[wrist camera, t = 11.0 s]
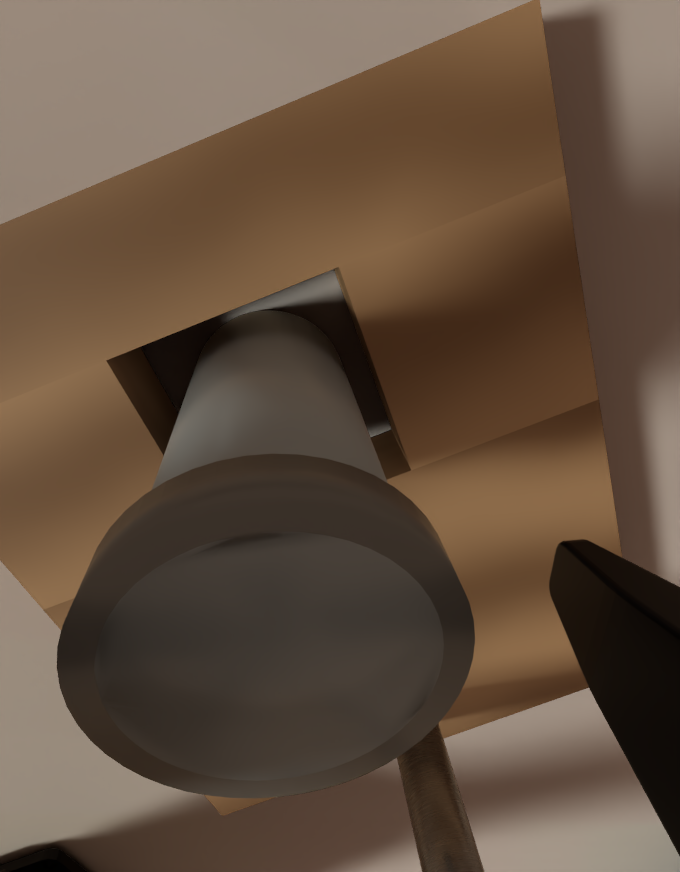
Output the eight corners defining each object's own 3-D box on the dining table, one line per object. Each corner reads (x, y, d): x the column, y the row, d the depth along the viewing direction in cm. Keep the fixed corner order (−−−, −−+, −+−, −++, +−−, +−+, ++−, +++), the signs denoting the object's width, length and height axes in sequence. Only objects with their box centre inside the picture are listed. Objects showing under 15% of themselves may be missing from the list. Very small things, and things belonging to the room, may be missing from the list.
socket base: (600, 617, 21) (639, 669, 19) (226, 751, 22) (222, 816, 20) (490, 28, 12) (539, -2, 10) (-133, 289, 13) (-213, 314, 11)
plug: (379, 424, 17) (511, 724, 8) (228, 482, 17) (185, 837, 8) (320, 266, 14) (410, 429, 5) (147, 336, 15) (-42, 602, 6)
